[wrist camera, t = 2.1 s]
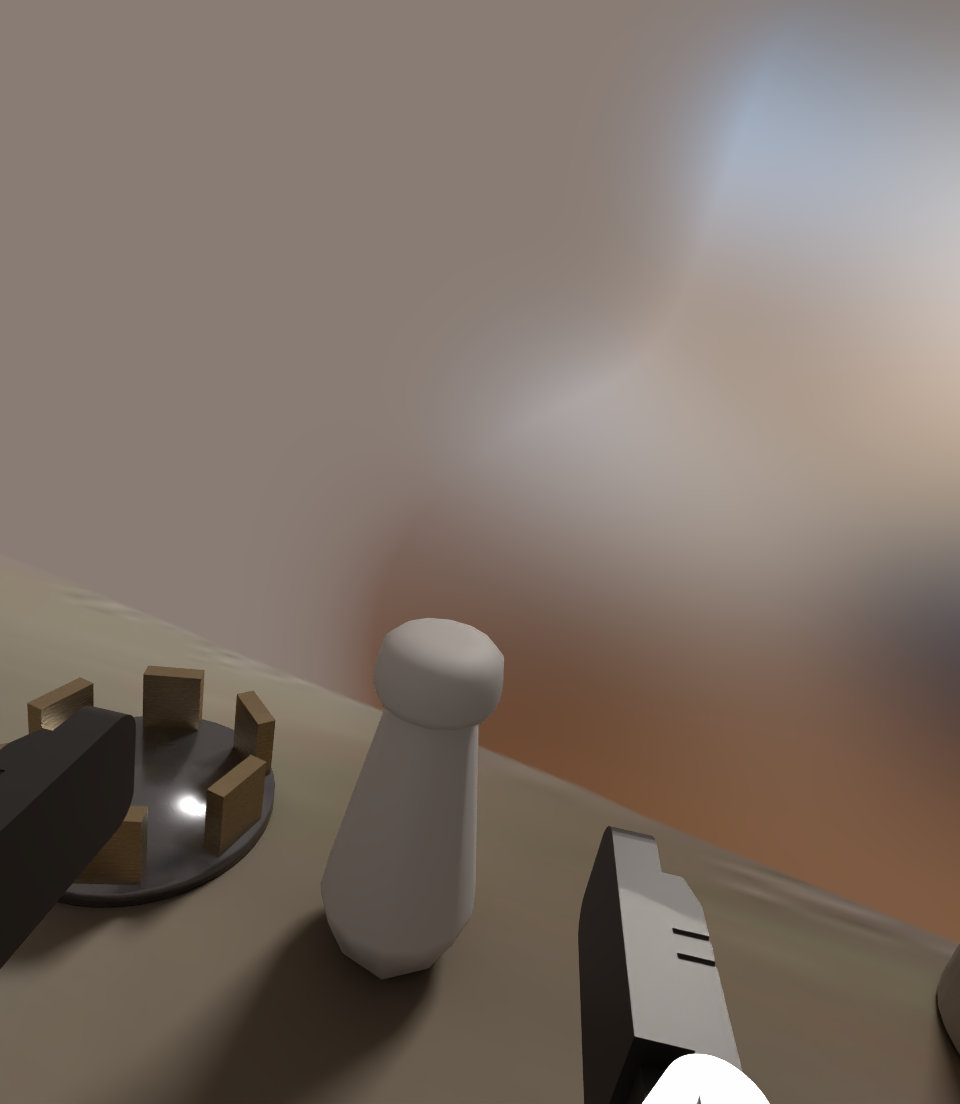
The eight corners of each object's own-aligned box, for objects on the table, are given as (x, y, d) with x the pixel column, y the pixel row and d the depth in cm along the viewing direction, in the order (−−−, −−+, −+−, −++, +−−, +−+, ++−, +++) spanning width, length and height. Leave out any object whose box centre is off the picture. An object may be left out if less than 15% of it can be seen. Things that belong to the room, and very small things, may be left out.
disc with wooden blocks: (320, 782, 35) (328, 717, 33) (141, 956, 25) (143, 873, 24) (145, 703, 38) (146, 641, 37) (-74, 829, 28) (-83, 750, 27)
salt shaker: (410, 1035, 24) (479, 711, 20) (282, 944, 26) (317, 635, 22) (489, 919, 29) (559, 639, 25) (375, 851, 31) (421, 584, 27)
